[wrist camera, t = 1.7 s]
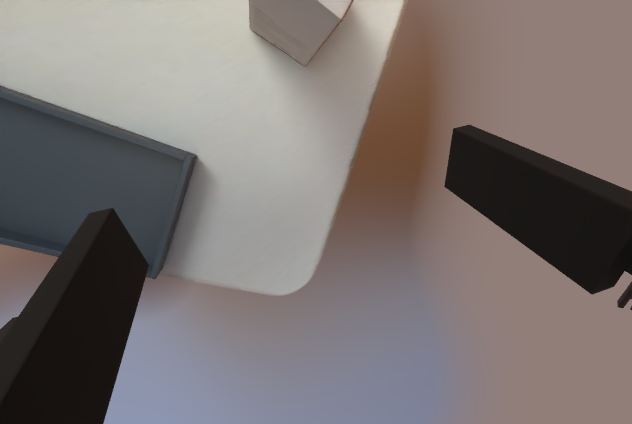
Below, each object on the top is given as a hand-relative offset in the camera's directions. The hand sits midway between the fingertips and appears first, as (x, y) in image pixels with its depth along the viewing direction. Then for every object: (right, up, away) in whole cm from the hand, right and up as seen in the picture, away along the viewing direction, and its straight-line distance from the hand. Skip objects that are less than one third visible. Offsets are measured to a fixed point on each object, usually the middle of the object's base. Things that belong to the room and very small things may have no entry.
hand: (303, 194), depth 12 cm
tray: (-23, +2, +17) cm, 28 cm away
